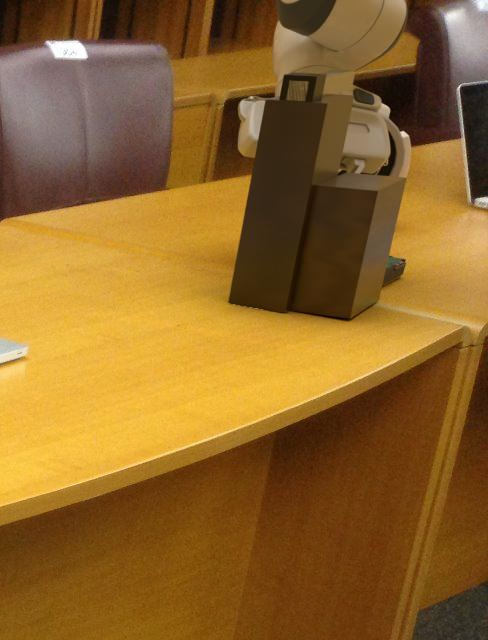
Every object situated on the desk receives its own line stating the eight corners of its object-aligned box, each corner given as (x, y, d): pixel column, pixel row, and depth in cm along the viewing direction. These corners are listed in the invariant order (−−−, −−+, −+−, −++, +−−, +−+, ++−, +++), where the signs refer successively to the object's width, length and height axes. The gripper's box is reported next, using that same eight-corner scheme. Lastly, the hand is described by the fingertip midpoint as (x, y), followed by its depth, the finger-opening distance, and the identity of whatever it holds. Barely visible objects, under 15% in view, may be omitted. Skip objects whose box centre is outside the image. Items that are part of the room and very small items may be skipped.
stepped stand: (378, 300, 207) (425, 96, 196) (345, 321, 196) (392, 107, 185) (265, 285, 216) (303, 89, 204) (227, 305, 205) (265, 99, 193)
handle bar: (358, 89, 204) (363, 65, 202) (312, 102, 190) (317, 76, 189) (326, 87, 206) (331, 64, 205) (278, 99, 192) (283, 74, 191)
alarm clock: (275, 226, 255) (305, 98, 245) (271, 217, 262) (300, 92, 252) (392, 236, 250) (427, 106, 241) (384, 226, 257) (418, 99, 248)
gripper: (248, 79, 211) (253, 160, 206) (392, 98, 212) (400, 180, 207) (227, 110, 217) (231, 190, 212) (367, 129, 218) (374, 209, 213)
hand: (316, 185), depth 210 cm, fingers open, 8 cm apart
